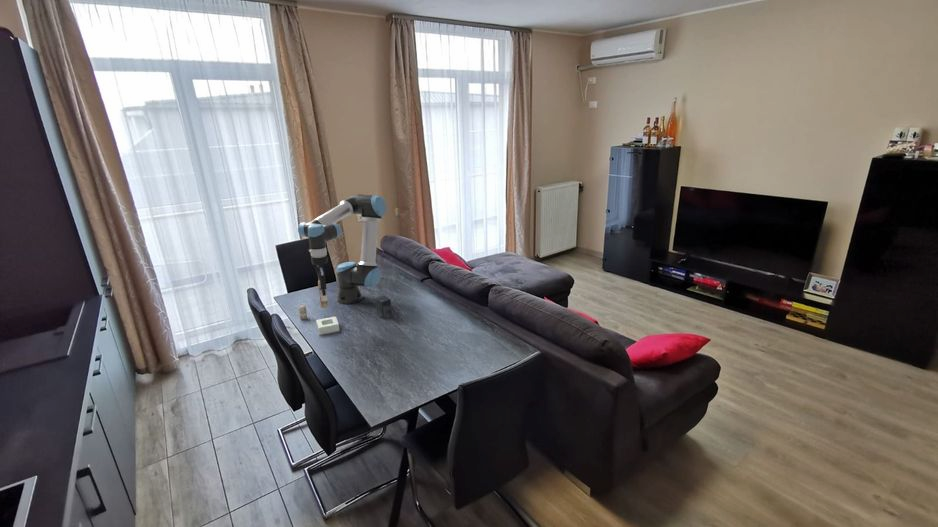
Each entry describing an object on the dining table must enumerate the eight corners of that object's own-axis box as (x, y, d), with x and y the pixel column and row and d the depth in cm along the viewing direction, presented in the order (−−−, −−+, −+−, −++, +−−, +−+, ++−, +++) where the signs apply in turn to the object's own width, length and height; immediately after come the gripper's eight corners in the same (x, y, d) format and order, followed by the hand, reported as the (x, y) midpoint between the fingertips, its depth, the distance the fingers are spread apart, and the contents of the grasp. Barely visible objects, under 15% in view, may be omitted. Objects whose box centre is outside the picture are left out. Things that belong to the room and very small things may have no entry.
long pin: (320, 305, 212) (317, 280, 208) (327, 304, 214) (324, 279, 209) (321, 308, 209) (318, 282, 205) (328, 306, 211) (325, 281, 206)
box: (392, 316, 230) (390, 299, 227) (383, 319, 227) (381, 301, 223) (385, 311, 236) (384, 294, 232) (376, 314, 232) (375, 297, 229)
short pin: (300, 317, 229) (298, 306, 226) (307, 316, 230) (305, 304, 228) (300, 320, 226) (299, 308, 223) (307, 318, 227) (306, 307, 225)
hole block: (317, 326, 218) (316, 320, 217) (336, 323, 222) (335, 316, 221) (319, 334, 210) (318, 327, 208) (339, 330, 214) (338, 324, 212)
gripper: (309, 252, 208) (314, 294, 216) (312, 261, 194) (318, 306, 202) (324, 250, 212) (329, 292, 219) (329, 259, 197) (334, 304, 205)
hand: (324, 299), depth 210 cm, fingers closed on long pin, 3 cm apart
